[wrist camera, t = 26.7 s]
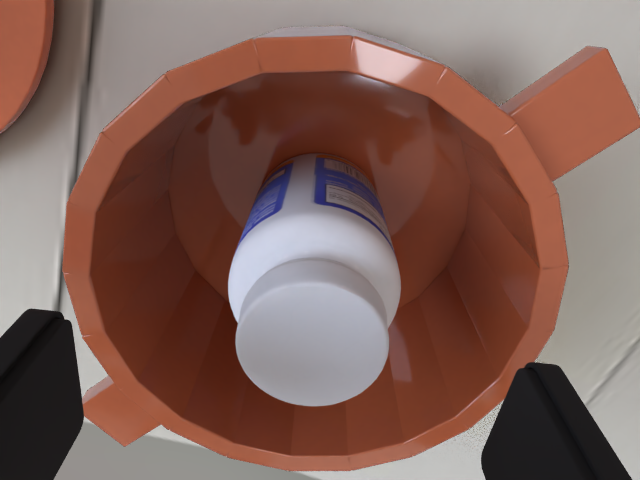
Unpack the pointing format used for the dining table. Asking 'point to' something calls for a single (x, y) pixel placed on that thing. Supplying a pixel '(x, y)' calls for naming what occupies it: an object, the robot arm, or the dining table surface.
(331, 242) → the pill bottle
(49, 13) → the lid
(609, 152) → the dining table surface
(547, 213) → the orange cooking pot
